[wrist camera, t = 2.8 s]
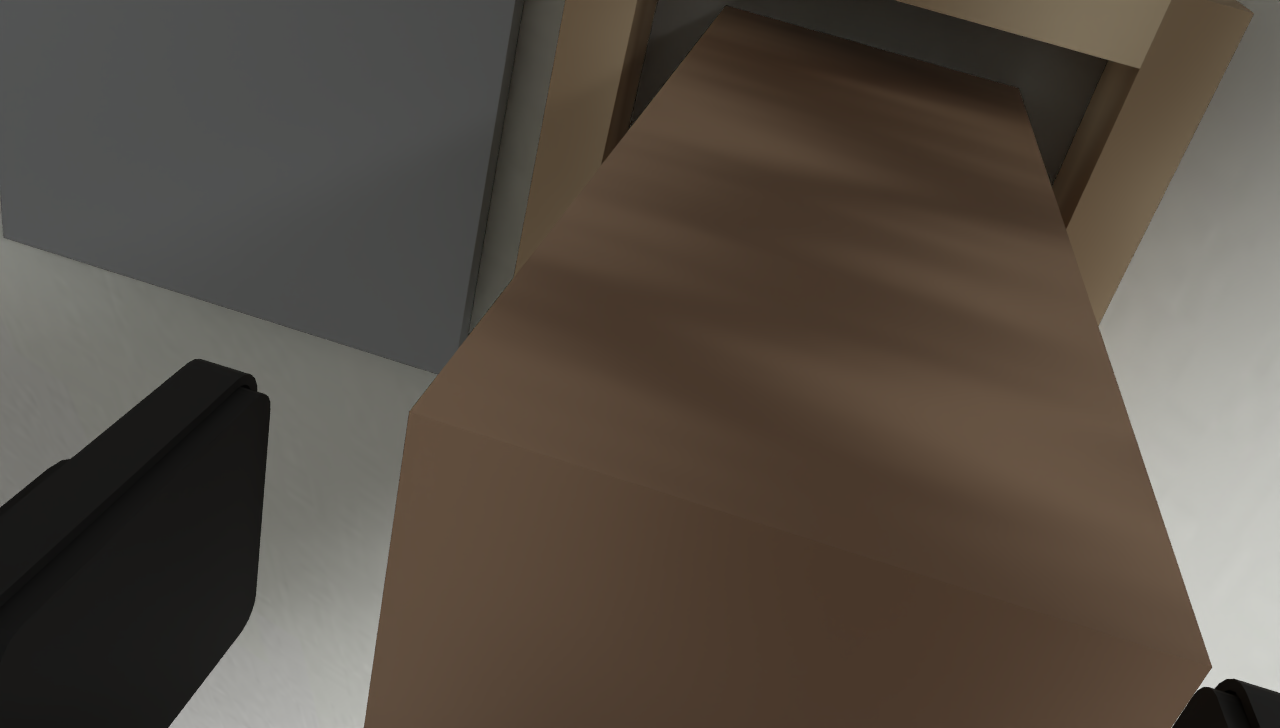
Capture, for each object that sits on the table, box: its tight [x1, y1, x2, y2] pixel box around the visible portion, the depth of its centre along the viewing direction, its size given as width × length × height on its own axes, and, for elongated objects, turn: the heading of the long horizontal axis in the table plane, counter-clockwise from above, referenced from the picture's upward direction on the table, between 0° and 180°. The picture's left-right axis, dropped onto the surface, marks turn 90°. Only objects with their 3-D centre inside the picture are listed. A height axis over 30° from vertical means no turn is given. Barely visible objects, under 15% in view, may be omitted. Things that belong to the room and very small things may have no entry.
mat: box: [0, 0, 524, 374], centre depth 23 cm, size 11×11×1 cm
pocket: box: [513, 0, 1254, 326], centre depth 21 cm, size 10×10×2 cm
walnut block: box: [364, 5, 1212, 728], centre depth 15 cm, size 6×6×15 cm
